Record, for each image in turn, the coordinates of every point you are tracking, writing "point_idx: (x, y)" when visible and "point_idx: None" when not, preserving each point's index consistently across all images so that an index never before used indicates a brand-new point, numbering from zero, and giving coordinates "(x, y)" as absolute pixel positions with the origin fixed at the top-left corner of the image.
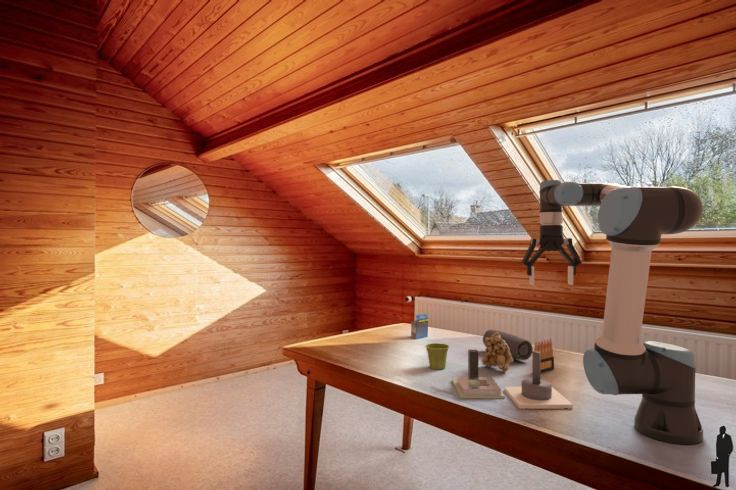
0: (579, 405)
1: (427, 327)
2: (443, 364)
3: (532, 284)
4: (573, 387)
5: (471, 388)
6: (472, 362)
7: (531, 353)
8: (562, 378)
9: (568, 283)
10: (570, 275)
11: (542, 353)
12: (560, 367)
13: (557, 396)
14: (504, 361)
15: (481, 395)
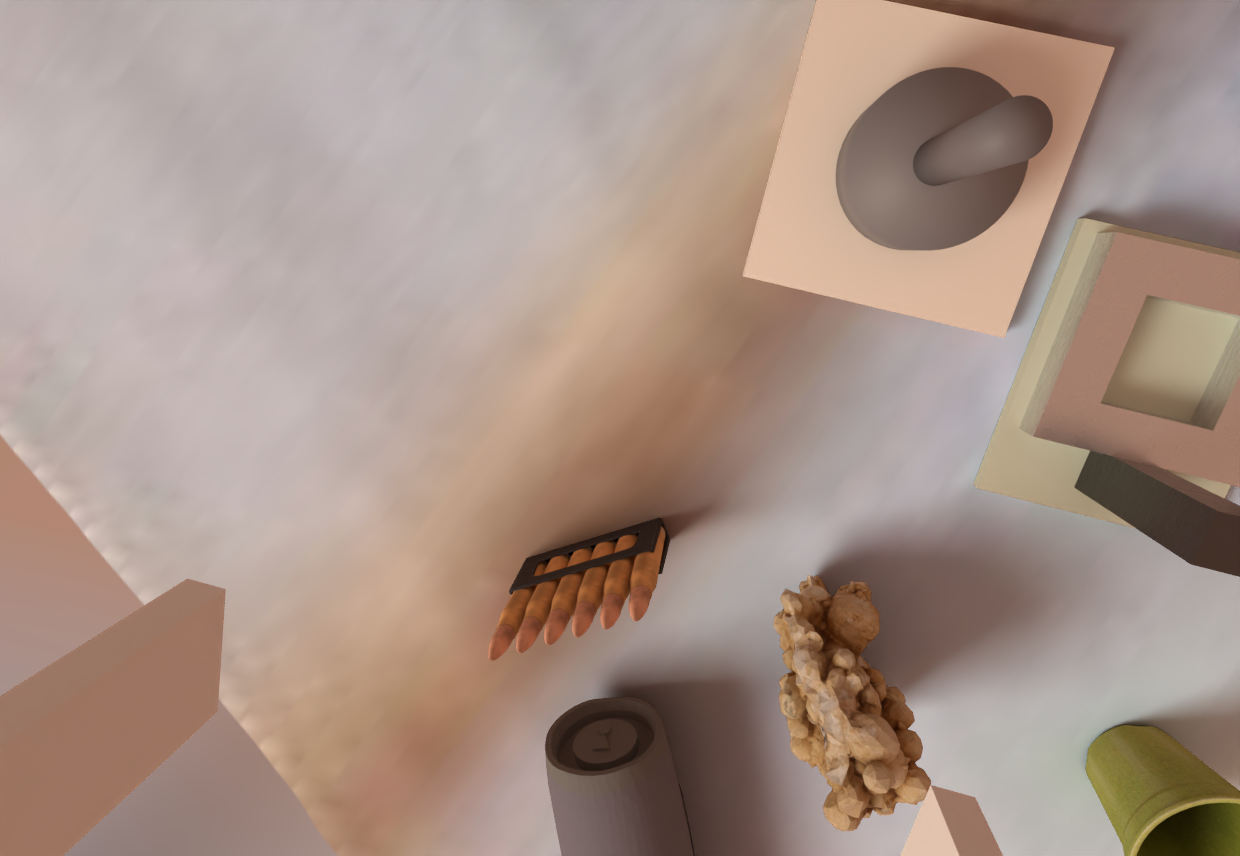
0: (750, 32)
1: None
2: (1134, 741)
3: (972, 810)
4: (605, 286)
5: None
6: (1207, 493)
7: (561, 719)
8: (572, 424)
9: (207, 697)
10: (58, 740)
11: (595, 584)
12: (474, 577)
13: (816, 124)
14: (839, 600)
15: (1213, 252)
